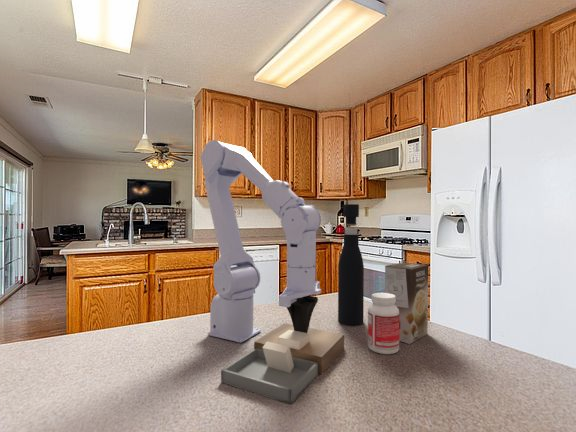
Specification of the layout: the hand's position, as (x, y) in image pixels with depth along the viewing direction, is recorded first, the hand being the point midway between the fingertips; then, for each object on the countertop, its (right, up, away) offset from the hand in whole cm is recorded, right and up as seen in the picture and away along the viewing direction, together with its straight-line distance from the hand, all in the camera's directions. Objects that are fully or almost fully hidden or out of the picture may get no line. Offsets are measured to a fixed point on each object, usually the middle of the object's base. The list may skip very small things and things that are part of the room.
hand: (301, 334), depth 65 cm
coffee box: (+24, -4, +9) cm, 26 cm away
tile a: (-1, -1, -3) cm, 3 cm away
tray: (-5, -4, -10) cm, 12 cm away
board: (0, -4, 0) cm, 4 cm away
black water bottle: (+13, -4, +19) cm, 23 cm away
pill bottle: (+17, -4, +2) cm, 18 cm away
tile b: (-4, -1, -8) cm, 9 cm away
